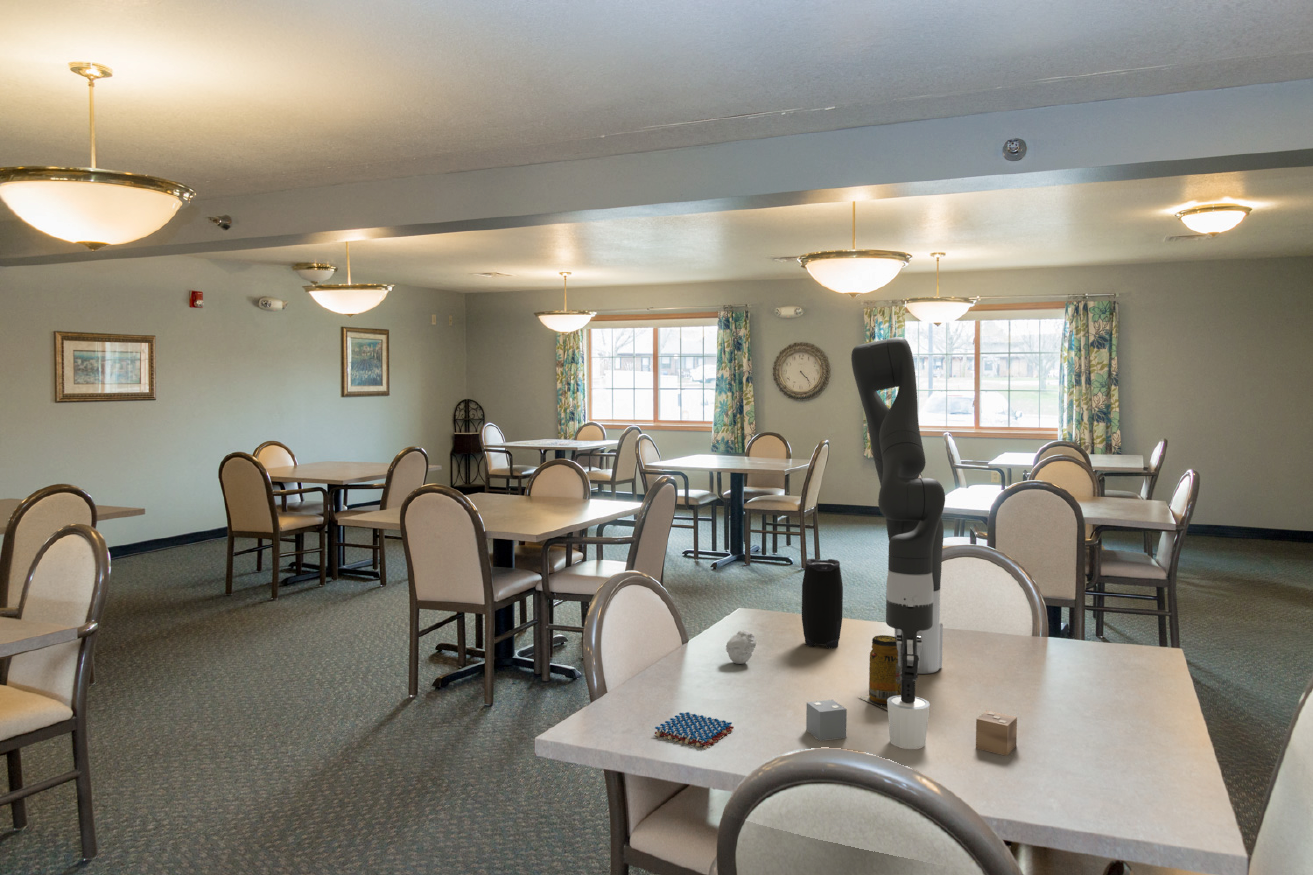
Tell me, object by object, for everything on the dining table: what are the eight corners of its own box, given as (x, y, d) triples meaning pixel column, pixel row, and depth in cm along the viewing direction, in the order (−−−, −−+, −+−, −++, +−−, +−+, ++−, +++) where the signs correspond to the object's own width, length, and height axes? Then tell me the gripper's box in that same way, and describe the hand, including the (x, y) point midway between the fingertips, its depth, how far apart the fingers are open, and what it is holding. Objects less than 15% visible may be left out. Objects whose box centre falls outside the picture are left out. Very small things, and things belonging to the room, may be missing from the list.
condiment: (887, 692, 176) (888, 631, 175) (918, 706, 168) (919, 642, 167) (857, 698, 172) (858, 636, 172) (887, 712, 165) (888, 647, 164)
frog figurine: (762, 664, 194) (762, 632, 193) (737, 669, 190) (737, 636, 190) (744, 657, 199) (744, 625, 198) (719, 662, 195) (719, 630, 195)
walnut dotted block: (985, 739, 152) (986, 709, 152) (1016, 746, 149) (1017, 716, 149) (975, 748, 148) (976, 718, 148) (1006, 756, 145) (1007, 725, 145)
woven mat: (706, 752, 147) (706, 740, 147) (652, 739, 153) (652, 727, 153) (736, 732, 156) (736, 721, 156) (683, 720, 162) (683, 709, 161)
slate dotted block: (832, 727, 157) (832, 698, 157) (846, 738, 152) (846, 708, 152) (806, 730, 156) (806, 701, 156) (819, 741, 151) (820, 711, 151)
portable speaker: (794, 641, 211) (795, 559, 210) (828, 637, 215) (829, 556, 214) (814, 651, 203) (815, 565, 203) (849, 647, 207) (850, 562, 206)
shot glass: (880, 735, 153) (881, 694, 153) (919, 734, 154) (920, 693, 154) (894, 751, 147) (895, 709, 146) (935, 749, 147) (936, 707, 147)
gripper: (885, 588, 156) (883, 686, 157) (886, 605, 144) (885, 712, 144) (930, 590, 155) (928, 690, 156) (936, 608, 142) (934, 716, 143)
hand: (907, 700), depth 150 cm, fingers closed
